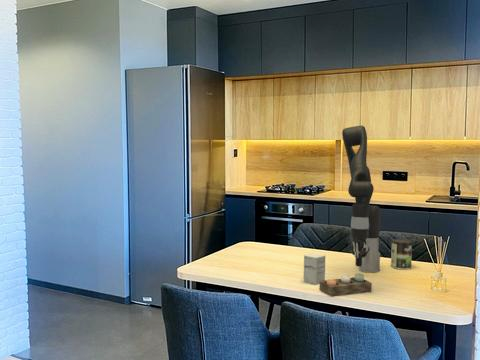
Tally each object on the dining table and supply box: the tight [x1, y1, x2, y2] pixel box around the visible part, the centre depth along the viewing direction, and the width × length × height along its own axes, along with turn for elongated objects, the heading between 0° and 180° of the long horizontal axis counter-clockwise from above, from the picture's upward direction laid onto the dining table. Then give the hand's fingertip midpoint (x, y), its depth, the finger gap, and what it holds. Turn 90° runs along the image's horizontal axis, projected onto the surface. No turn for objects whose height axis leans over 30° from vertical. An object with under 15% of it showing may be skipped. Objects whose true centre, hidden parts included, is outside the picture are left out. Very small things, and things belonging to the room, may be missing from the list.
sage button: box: [354, 273, 365, 282], centre depth 211 cm, size 4×4×3 cm
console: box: [318, 276, 373, 297], centre depth 209 cm, size 20×10×4 cm, turn 110°
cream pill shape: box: [340, 274, 351, 284], centre depth 208 cm, size 4×4×3 cm
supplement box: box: [303, 252, 326, 285], centre depth 222 cm, size 7×7×13 cm
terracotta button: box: [327, 279, 336, 286], centre depth 206 cm, size 4×4×3 cm
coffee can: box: [390, 238, 413, 271], centre depth 249 cm, size 10×10×14 cm
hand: (358, 265), depth 210 cm, fingers closed
